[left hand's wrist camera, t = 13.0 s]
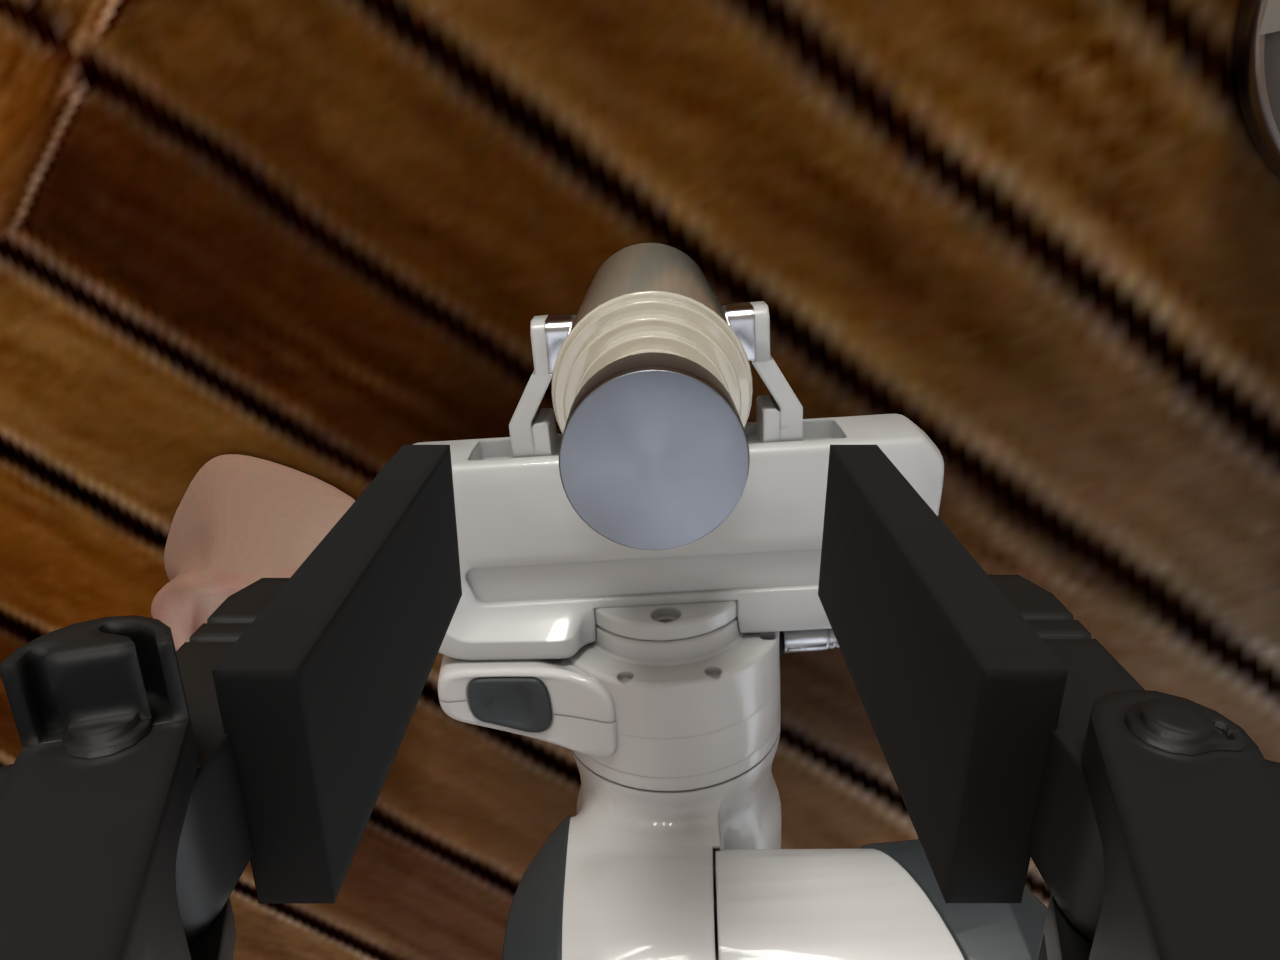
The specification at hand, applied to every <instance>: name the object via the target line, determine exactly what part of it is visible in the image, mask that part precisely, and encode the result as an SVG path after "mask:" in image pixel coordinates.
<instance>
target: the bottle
mask: <svg viewBox="0 0 1280 960" xmlns="http://www.w3.org/2000/svg"><path fill="white" fill-rule="evenodd" d="M648 352H659V353H668V354H674V355H678V356H681V357H684V358H687V359H689V360H691V361H694V362H696V363H698V364H699V365H701V366H702V367H704V368H706V369H707V370H708V371H710V372H711V373H712V374H713V375H714V376H715V377H717V379H718V380H719V381H720V382H721V383H722V384H723V385H724V387H725V388H726V390H727V391H728V392H729V394H730V396H731V398H732V400H733V402H734V404H735V406H736V408H737V411H738V414H739V416H740V419H741V422H742V424H743V427H744V428H745V425H746V422H747V420H748V417H749V413H750V409H751V404H752V394H753V384H752V374H751V368H750V364H749V361H748V358H747V354H746V352H745V350H744V348H743V346H742V344H741V341H740V340H739V338H738V336H737V334H736V332H735V330H734V329H733V327H732V325H731V323H730V321H729V319H728V318H727V316H726V314H725V312H724V310H723V308H722V306H721V305H720V303H719V301H718V299H717V297H716V295H715V294H714V292H713V290H712V288H711V286H710V284H709V283H708V281H707V279H706V277H705V275H704V274H703V272H702V270H701V269H700V267H699V266H698V265H697V264H696V263H695V262H694V261H693V260H692V259H691V258H690V257H689V256H688V255H686V254H685V253H683V252H682V251H680V250H678V249H676V248H674V247H671V246H668V245H664V244H659V243H640V244H635V245H631V246H629V247H626V248H624V249H622V250H620V251H618V252H616V253H615V254H613V255H612V256H611V257H609V258H608V259H607V260H606V261H605V262H604V263H603V264H602V266H601V267H600V268H599V269H598V271H597V272H596V274H595V276H594V278H593V280H592V282H591V284H590V286H589V288H588V291H587V293H586V295H585V297H584V299H583V301H582V303H581V306H580V308H579V310H578V312H577V314H576V316H575V318H574V321H573V323H572V325H571V327H570V329H569V331H568V333H567V336H566V338H565V340H564V342H563V344H562V346H561V349H560V351H559V353H558V355H557V359H556V362H555V365H554V369H553V376H552V393H551V394H552V403H553V409H554V413H555V417H556V420H557V422H558V425H559V427H560V430H561V432H562V434H563V431H564V428H565V425H566V422H567V418H568V415H569V412H570V409H571V406H572V404H573V402H574V400H575V398H576V396H577V394H578V393H579V391H580V390H581V388H582V387H583V386H584V385H585V383H586V382H587V381H588V380H589V379H590V378H591V377H592V376H593V375H594V374H595V373H596V372H598V371H599V370H600V369H602V368H603V367H605V366H606V365H608V364H610V363H612V362H614V361H616V360H618V359H621V358H623V357H626V356H629V355H634V354H639V353H648Z"/></svg>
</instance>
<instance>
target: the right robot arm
mask: <svg viewBox="0 0 1280 960" xmlns="http://www.w3.org/2000/svg"><path fill="white" fill-rule="evenodd" d="M722 308H723V310H724V312H725V314H726V316H727V318H728V319H729V321H730V323H731V325H732V327H733V329H734V330H735V332H736V334H737V336H738V338H739V340H740V341H741V344H742V346H743V348H744V350H745V352H746V354H747V358H748V361H751V362H752V364H753V366H754V367H755V369H756V370H757V372H758V374H759V375H760V377H761V378H762V380H763V382H764V383H765V385H766V386H767V388H768V390H769V391H770V393H771V394H772V397H771V396H770V395H769V394H766V395H759V396H757V397H756V422H748V423H746V425H745V428H744V430H745V433H746V436H747V440H748V445H749V454H750V465H749V474H748V479H747V483H746V486H745V489H744V491H743V494H742V496H741V498H740V500H739V502H738V504H737V506H736V507H735V509H734V510H733V511H732V513H731V514H730V515H729V517H728V518H727V519H726V520H725V521H724V522H723V523H722V524H721V525H720V526H718V527H717V528H716V529H715V530H713V531H712V532H711V533H709V534H708V535H706V536H704V537H703V538H701V539H699V540H697V541H695V542H693V543H690V544H687V545H684V546H681V547H677V548H672V549H667V550H641V549H635V548H630V547H627V546H623V545H620V544H618V543H615V542H613V541H611V540H608V539H607V538H605V537H603V536H602V535H600V534H598V533H597V532H596V531H594V530H593V529H592V528H590V527H589V526H588V525H587V524H586V523H585V522H584V521H583V520H582V519H581V518H580V517H579V515H578V514H577V513H576V511H575V510H574V509H573V507H572V505H571V504H570V502H569V500H568V499H567V496H566V494H565V491H564V489H563V486H562V482H561V478H560V473H559V448H560V442H561V438H562V435H563V434H557V431H556V423H555V415H554V410H553V409H552V408H542V409H541V410H540V411H538V407H539V405H540V403H541V401H542V398H543V396H544V394H545V392H546V390H547V387H548V385H549V383H550V381H551V379H552V376H553V369H554V365H555V362H556V359H557V355H558V353H559V351H560V349H561V346H562V344H563V342H564V340H565V338H566V336H567V333H568V331H569V329H570V327H571V325H572V323H573V321H574V318H575V316H576V315H575V314H561V315H542V316H534V317H533V319H532V320H531V343H532V353H533V362H534V371H533V373H532V375H531V377H530V379H529V382H528V384H527V386H526V388H525V390H524V393H523V395H522V397H521V399H520V401H519V404H518V406H517V408H516V410H515V412H514V415H513V417H512V419H511V421H510V423H509V431H510V437H501V438H484V439H468V440H452V441H435V442H420V443H415V444H413V445H450V452H451V464H452V476H453V489H454V501H455V513H456V525H457V538H458V550H459V562H460V574H461V587H462V596H461V599H460V601H459V603H458V606H457V608H456V611H455V613H454V615H453V618H452V620H451V623H450V625H449V627H448V630H447V632H446V635H445V637H444V640H443V642H442V644H441V647H440V649H439V652H438V653H440V654H442V655H444V656H443V660H442V663H441V668H440V673H439V679H438V696H439V701H440V705H441V707H442V709H443V711H444V712H445V713H446V714H447V715H448V716H450V717H451V718H453V719H456V720H458V721H461V722H465V723H470V724H474V725H479V726H484V727H489V728H493V729H498V730H502V731H507V732H511V733H515V734H519V735H524V736H527V737H531V738H535V739H539V740H542V741H546V742H549V743H552V744H555V745H559V746H562V747H564V748H567V749H570V750H571V752H572V754H573V757H574V759H575V761H576V764H577V766H578V769H579V772H580V778H581V787H580V791H579V795H578V800H577V814H576V816H574V817H571V816H568V817H567V818H566V819H565V820H564V821H563V822H562V823H561V824H560V825H559V826H558V827H557V828H556V830H555V831H554V832H553V833H552V834H551V836H550V837H549V838H548V840H547V841H546V843H545V844H544V845H543V847H542V848H541V850H540V851H539V852H538V854H537V855H536V857H535V858H534V860H533V861H532V863H531V864H530V865H529V867H528V868H527V870H526V871H525V873H524V875H523V877H522V879H521V881H520V883H519V885H518V888H517V890H516V893H515V896H514V899H513V902H512V905H511V909H510V912H509V917H508V921H507V927H506V933H505V939H504V947H503V957H502V960H1037V956H1038V952H1039V947H1040V942H1041V938H1042V933H1043V929H1044V924H1045V920H1046V915H1047V910H1048V908H1047V907H1046V906H1045V905H1044V904H1043V903H1042V902H1041V901H1040V900H1039V899H1038V898H1037V897H1036V896H1035V895H1034V894H1033V893H1032V892H1031V891H1030V890H1029V889H1028V888H1026V887H1025V886H1024V891H1023V896H1022V901H1021V903H946V902H945V900H944V898H943V895H942V893H941V890H940V888H939V886H938V883H937V881H936V878H935V876H934V873H933V871H932V869H931V866H930V864H929V861H928V859H927V857H926V854H925V852H924V849H923V847H922V845H921V842H920V840H919V839H918V840H908V841H898V842H887V843H876V844H867V845H864V846H861V847H860V848H859V849H781V802H780V796H779V792H778V789H777V786H776V783H775V780H774V778H773V775H772V772H771V766H772V762H773V759H774V756H775V754H776V751H777V747H778V743H779V738H780V723H781V714H780V660H779V656H781V655H782V653H797V652H816V651H825V650H831V649H834V648H840V647H839V644H838V642H837V640H836V637H835V635H834V632H833V630H832V627H831V625H830V623H829V620H828V618H827V615H826V613H825V611H824V608H823V606H822V603H821V601H820V599H819V596H818V587H819V574H820V562H821V550H822V538H823V525H824V513H825V501H826V489H827V476H828V464H829V452H830V445H878V447H879V448H880V449H881V450H882V451H883V453H884V454H885V455H886V456H887V457H888V458H889V460H890V461H891V462H892V463H893V464H894V466H895V467H896V468H897V469H898V470H899V471H900V473H901V474H902V475H903V476H904V477H905V478H906V480H907V481H908V482H909V483H910V484H911V486H912V487H913V488H914V489H915V490H916V491H917V493H918V494H919V495H920V496H921V497H922V498H923V500H924V501H925V502H926V503H927V504H928V506H929V507H930V508H931V509H932V510H933V511H934V513H935V514H936V515H937V516H938V514H939V508H940V501H941V494H942V486H943V477H944V461H943V457H942V455H941V453H940V451H939V449H938V448H937V447H936V445H935V444H934V443H933V441H932V440H931V439H930V438H929V437H928V436H927V434H926V433H925V432H924V431H922V430H921V429H920V428H919V427H918V426H917V425H915V424H914V423H913V422H912V421H911V420H909V419H908V418H907V417H905V416H903V415H900V414H880V415H864V416H847V417H831V418H814V419H803V407H802V405H801V403H800V402H799V400H798V399H797V397H796V395H795V394H794V392H793V390H792V389H791V387H790V385H789V384H788V382H787V381H786V379H785V377H784V376H783V374H782V372H781V371H780V369H779V368H778V366H777V364H776V363H775V361H774V359H773V358H772V356H771V355H770V316H769V309H768V305H767V304H766V303H765V302H764V301H759V302H744V303H732V304H723V306H722Z"/></svg>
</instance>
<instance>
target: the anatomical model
mask: <svg viewBox="0 0 1280 960" xmlns="http://www.w3.org/2000/svg"><path fill="white" fill-rule="evenodd" d="M355 501H356V500H354V499H353V498H351V497H350V496H348V495H347V494H345V493H344V492H342V491H340V490H339V489H337V488H335V487H334V486H332V485H330V484H328V483H326V482H324V481H321V480H319V479H317V478H315V477H313V476H310V475H308V474H305V473H303V472H300V471H298V470H295V469H293V468H290V467H287V466H284V465H281V464H277V463H274V462H271V461H268V460H264V459H260V458H256V457H252V456H246V455H240V454H227V455H220V456H217V457H215V458H213V459H211V460H209V461H208V462H207V463H206V464H205V465H204V466H203V467H202V468H201V469H200V470H199V471H198V473H197V474H196V476H195V477H194V479H193V480H192V481H191V483H190V485H189V487H188V489H187V491H186V493H185V495H184V497H183V499H182V501H181V503H180V505H179V507H178V509H177V511H176V513H175V515H174V518H173V521H172V524H171V527H170V531H169V535H168V539H167V542H166V547H165V552H164V564H165V570H166V573H167V576H168V578H169V580H170V582H168V583H167V584H166V585H165V586H164V587H163V588H162V589H161V590H160V591H159V592H158V593H157V594H156V596H155V597H154V599H153V602H152V605H151V614H152V617H153V619H158V620H160V621H161V622H163V623H164V624H166V625H167V626H169V627H170V628H171V632H172V636H173V641H174V645H175V650H176V651H177V650H178V649H179V648H180V647H181V646H182V645H183V644H184V643H185V642H189V641H190V636H191V635H192V634H193V633H194V632H195V631H196V630H197V629H198V628H199V627H200V626H201V625H202V624H203V623H207V619H208V618H209V617H210V616H211V614H212V613H213V612H214V611H215V610H216V609H217V608H218V607H219V606H220V605H221V604H222V603H223V602H224V601H225V600H226V599H227V598H228V597H229V596H231V595H232V594H234V593H236V592H238V591H240V590H241V589H243V588H245V587H247V586H249V585H250V584H252V583H254V582H256V581H258V580H259V579H261V578H290V577H291V576H292V575H293V574H294V573H295V572H296V570H297V569H298V568H299V567H300V566H301V564H302V563H303V562H304V561H305V560H306V559H307V557H308V556H309V555H310V554H311V553H312V552H313V550H314V549H315V548H316V547H317V546H318V544H319V543H320V542H321V541H322V540H323V539H324V537H325V536H326V535H327V534H328V533H329V531H330V530H331V529H332V528H333V527H334V526H335V524H336V523H337V522H338V521H339V520H340V519H341V517H342V516H343V515H344V514H345V513H346V511H347V510H348V509H349V508H350V507H351V506H352V504H353V503H354V502H355Z"/></svg>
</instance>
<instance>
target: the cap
mask: <svg viewBox="0 0 1280 960" xmlns="http://www.w3.org/2000/svg"><path fill="white" fill-rule="evenodd" d="M749 465H750V454H749V445H748V440H747V436H746V433H745V430H744V427H743V424H742V422H741V419H740V416H739V414H738V411H737V408H736V406H735V404H734V402H733V400H732V398H731V396H730V394H729V392H728V391H727V390H726V388H725V387H724V385H723V384H722V383H721V382H720V381H719V380H718V379H717V377H715V376H714V375H713V374H712V373H711V372H710V371H708V370H707V369H706V368H704V367H702V366H701V365H699V364H698V363H696V362H694V361H691V360H689V359H687V358H684V357H681V356H678V355H674V354H668V353H659V352H648V353H639V354H634V355H629V356H626V357H623V358H621V359H618V360H616V361H614V362H612V363H610V364H608V365H606V366H605V367H603V368H602V369H600V370H599V371H598V372H596V373H595V374H594V375H593V376H592V377H591V378H590V379H589V380H588V381H587V382H586V383H585V385H584V386H583V387H582V388H581V390H580V391H579V393H578V394H577V396H576V398H575V400H574V402H573V404H572V406H571V409H570V412H569V415H568V418H567V422H566V425H565V428H564V431H563V435H562V438H561V442H560V448H559V473H560V478H561V482H562V486H563V489H564V491H565V494H566V496H567V499H568V500H569V502H570V504H571V505H572V507H573V509H574V510H575V511H576V513H577V514H578V515H579V517H580V518H581V519H582V520H583V521H584V522H585V523H586V524H587V525H588V526H589V527H590V528H592V529H593V530H594V531H596V532H597V533H598V534H600V535H602V536H603V537H605V538H607V539H608V540H611V541H613V542H615V543H618V544H620V545H623V546H627V547H630V548H635V549H641V550H667V549H672V548H677V547H681V546H684V545H687V544H690V543H693V542H695V541H697V540H699V539H701V538H703V537H704V536H706V535H708V534H709V533H711V532H712V531H713V530H715V529H716V528H717V527H718V526H720V525H721V524H722V523H723V522H724V521H725V520H726V519H727V518H728V517H729V515H730V514H731V513H732V511H733V510H734V509H735V507H736V506H737V504H738V502H739V500H740V498H741V496H742V494H743V491H744V489H745V486H746V483H747V479H748V474H749Z"/></svg>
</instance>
